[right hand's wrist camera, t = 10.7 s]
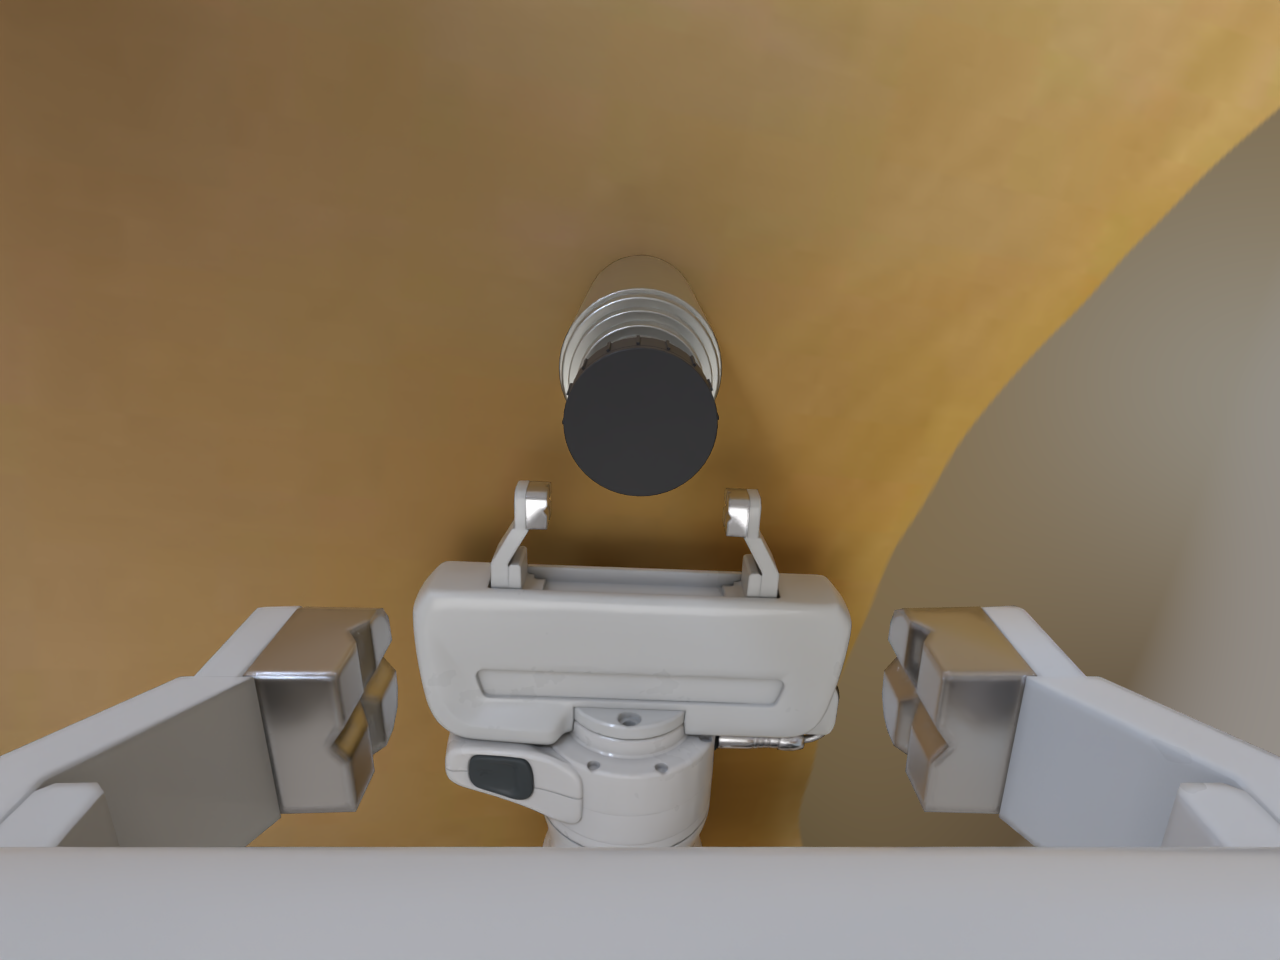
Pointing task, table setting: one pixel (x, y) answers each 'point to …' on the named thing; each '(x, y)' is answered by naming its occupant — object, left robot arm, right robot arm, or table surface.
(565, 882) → the right robot arm
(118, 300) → the table surface
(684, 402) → the cap
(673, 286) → the bottle
